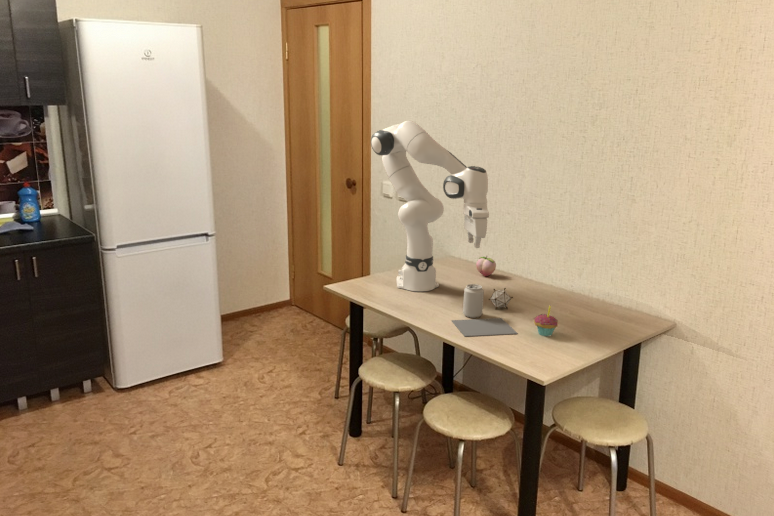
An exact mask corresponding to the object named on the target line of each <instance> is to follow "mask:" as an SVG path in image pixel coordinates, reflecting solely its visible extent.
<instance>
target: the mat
mask: <svg viewBox="0 0 774 516" xmlns="http://www.w3.org/2000/svg"><path fill="white" fill-rule="evenodd" d="M450 321H451V323H452V324H453V325H454V326H455V327H456V329H458V331H459V332H460V333H461V334H462V335H463V336H464V337H466V338H467V337H468V338H469V337H484V336H485V337H486V336H487V337H488V336H504V335H505V336H507V335H509V336H510V335H518V334H519V333H518V332H517V331H516V330H515V329H514V328H513V327H512V326H511V325H510V324H509V323H508V322H507V321H506V320H505V319H503V318H502V317H495V318H494V317H493V318H470V319H469V318H468V319H452V320H450Z"/></svg>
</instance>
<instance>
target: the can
mask: <svg viewBox="0 0 774 516" xmlns="http://www.w3.org/2000/svg"><path fill="white" fill-rule="evenodd" d="M463 291H464V293H463V303H462V306H463V307H462V314H463V315H464V316H465V317H466V316H467V317H466V318H469V317H470V319H477V318H476V317H478V318H480V317H481V316H482V315H483V308H484V307H483V306H484V292H485V289H483V286H482V285H481V284H478V283H469V284H467V285H465V287H464V289H463Z"/></svg>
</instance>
